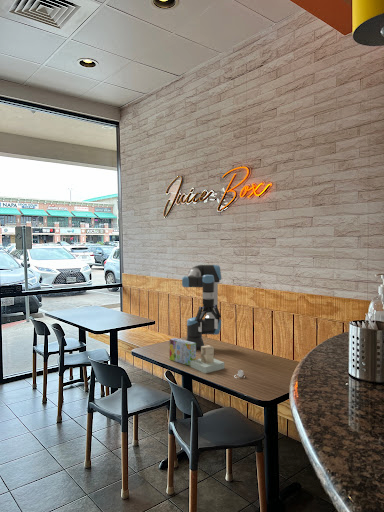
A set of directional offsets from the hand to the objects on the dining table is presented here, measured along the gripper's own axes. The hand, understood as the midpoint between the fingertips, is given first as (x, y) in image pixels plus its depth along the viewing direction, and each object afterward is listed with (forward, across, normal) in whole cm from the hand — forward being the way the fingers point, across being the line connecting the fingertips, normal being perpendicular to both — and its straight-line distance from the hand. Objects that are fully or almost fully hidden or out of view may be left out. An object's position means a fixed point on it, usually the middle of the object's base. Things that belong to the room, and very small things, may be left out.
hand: (208, 330), depth 261 cm
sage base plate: (+25, -1, -1) cm, 25 cm away
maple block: (+21, -1, -1) cm, 21 cm away
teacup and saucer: (+25, +8, -27) cm, 38 cm away
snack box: (+25, -8, +18) cm, 32 cm away
